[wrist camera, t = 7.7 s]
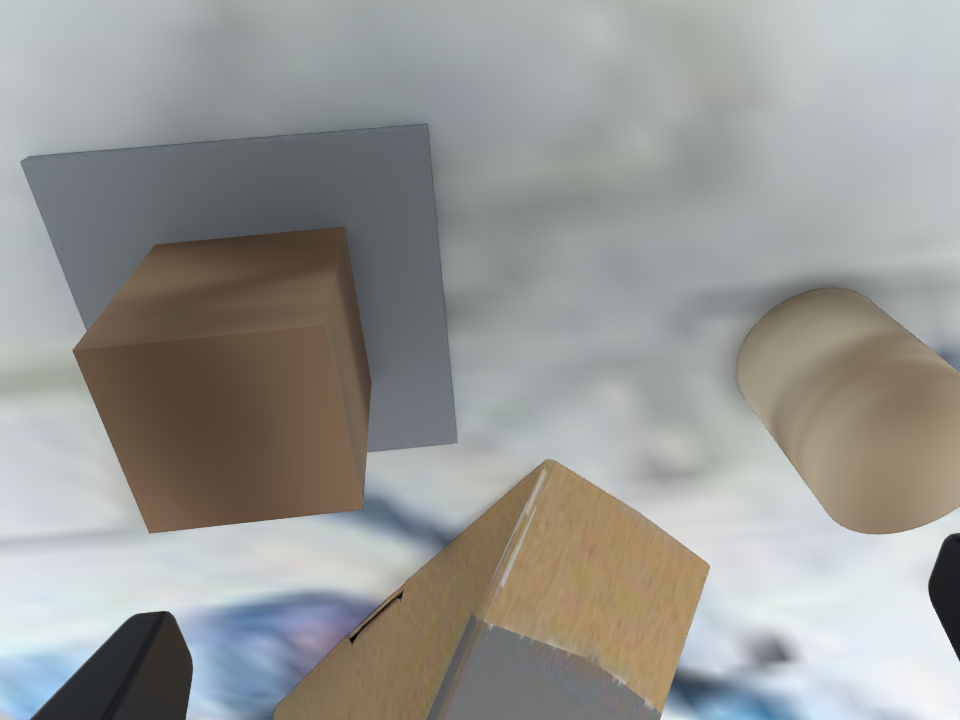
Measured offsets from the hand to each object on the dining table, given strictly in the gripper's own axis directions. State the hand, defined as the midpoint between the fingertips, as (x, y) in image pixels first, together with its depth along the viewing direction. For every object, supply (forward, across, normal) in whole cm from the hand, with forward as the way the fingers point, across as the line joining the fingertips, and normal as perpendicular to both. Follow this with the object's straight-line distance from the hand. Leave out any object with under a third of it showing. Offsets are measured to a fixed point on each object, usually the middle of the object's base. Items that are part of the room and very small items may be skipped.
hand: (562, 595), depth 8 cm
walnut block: (+11, +6, +2) cm, 12 cm away
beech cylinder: (+12, -9, +5) cm, 16 cm away
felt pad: (+11, +6, +2) cm, 13 cm away
